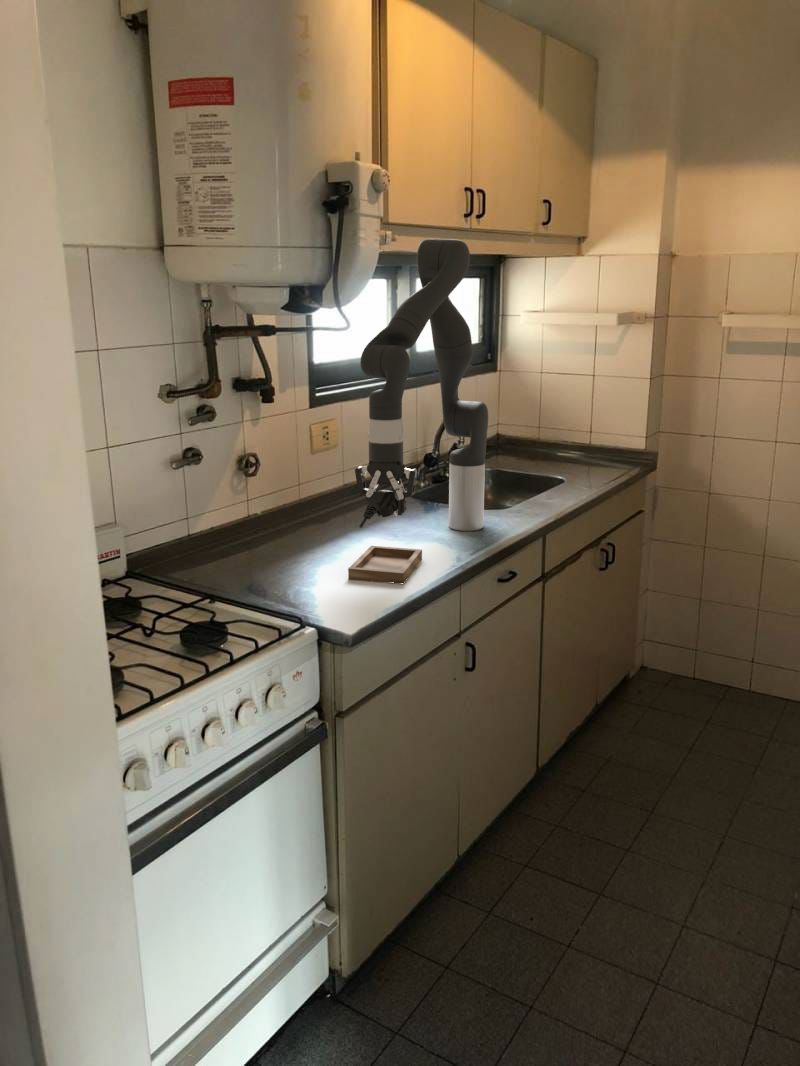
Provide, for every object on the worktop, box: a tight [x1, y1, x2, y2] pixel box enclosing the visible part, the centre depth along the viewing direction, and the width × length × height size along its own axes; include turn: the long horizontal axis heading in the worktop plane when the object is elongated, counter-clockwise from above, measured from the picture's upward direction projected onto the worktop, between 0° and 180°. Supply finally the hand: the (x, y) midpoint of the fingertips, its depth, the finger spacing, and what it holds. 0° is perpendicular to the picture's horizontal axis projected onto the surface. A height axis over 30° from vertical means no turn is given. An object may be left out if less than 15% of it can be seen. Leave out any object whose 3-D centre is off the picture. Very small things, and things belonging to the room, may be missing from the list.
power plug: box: [358, 489, 398, 529], centre depth 186 cm, size 6×8×12 cm
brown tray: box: [347, 545, 423, 584], centre depth 192 cm, size 17×12×2 cm
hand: (386, 513), depth 189 cm, fingers closed on power plug, 6 cm apart
